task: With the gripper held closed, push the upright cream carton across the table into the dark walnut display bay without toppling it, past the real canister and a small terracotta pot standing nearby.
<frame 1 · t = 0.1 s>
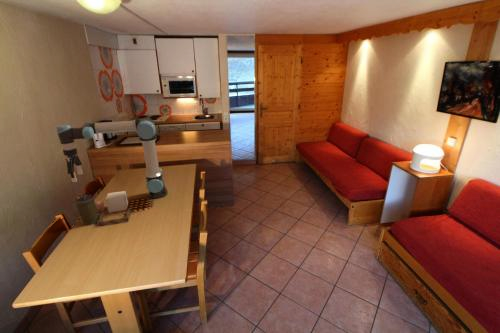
hand: (77, 178, 173), 28 cm above the table, fingers open, 13 cm apart
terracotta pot: (100, 209, 187), on the table
carton: (118, 207, 190), on the table
display bay: (115, 217, 177), on the table
canister: (91, 221, 174), on the table
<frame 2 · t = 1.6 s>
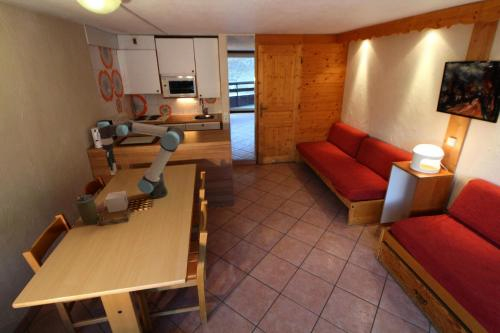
hand: (114, 172, 189), 25 cm above the table, fingers open, 6 cm apart
nothing on the table moved.
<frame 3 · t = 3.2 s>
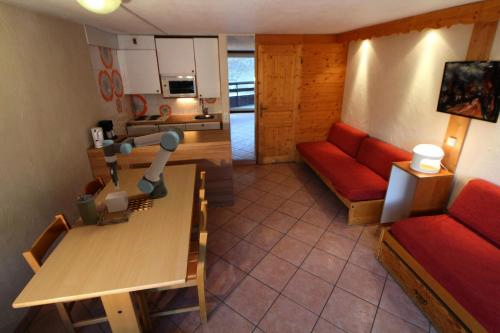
hand: (117, 189, 194), 11 cm above the table, fingers closed
nothing on the table moved.
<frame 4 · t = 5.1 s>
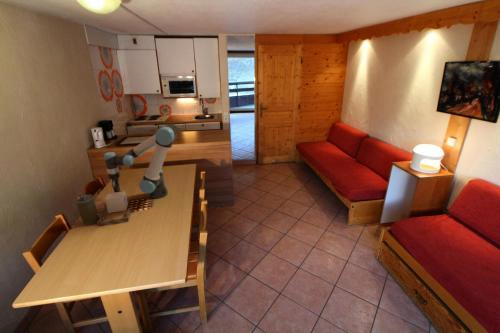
hand: (119, 200, 196), 2 cm above the table, fingers closed
carton: (118, 208, 189), on the table, touching hand
everything else where it was.
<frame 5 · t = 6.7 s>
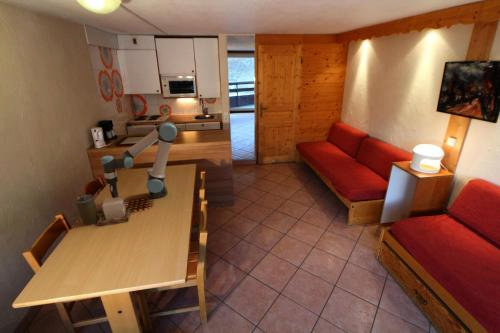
hand: (117, 205, 188), 2 cm above the table, fingers closed
carton: (116, 214, 181), on the table, touching hand
everything else where it was.
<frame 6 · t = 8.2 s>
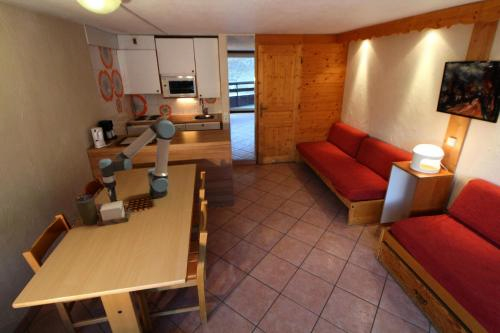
hand: (116, 209, 183), 2 cm above the table, fingers closed
carton: (114, 219, 175), on the table, touching display bay, hand
everything else where it was.
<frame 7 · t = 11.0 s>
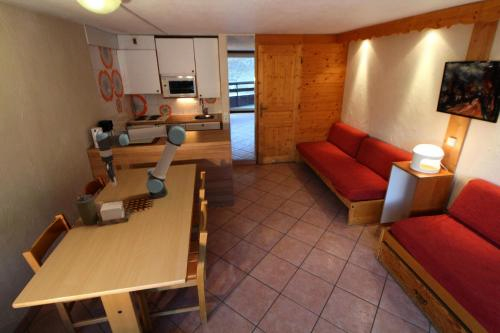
hand: (114, 185, 183), 19 cm above the table, fingers closed
carton: (114, 219, 175), on the table
everything else where it was.
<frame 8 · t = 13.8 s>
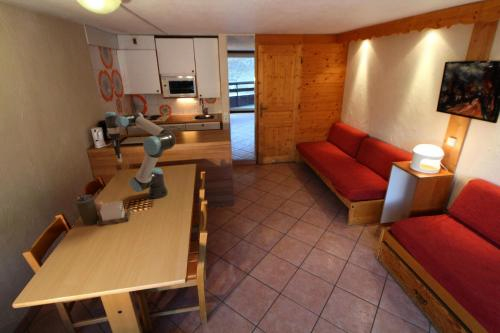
hand: (120, 161, 198), 29 cm above the table, fingers closed
nothing on the table moved.
at the end: carton inside the target area (1.5 cm from its centre), on the table; carton tilted 0°; carton touching table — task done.
